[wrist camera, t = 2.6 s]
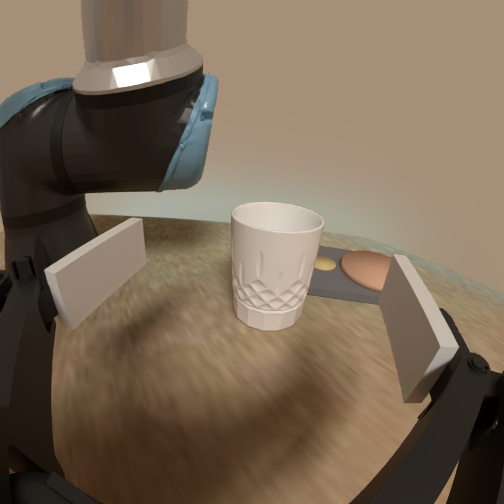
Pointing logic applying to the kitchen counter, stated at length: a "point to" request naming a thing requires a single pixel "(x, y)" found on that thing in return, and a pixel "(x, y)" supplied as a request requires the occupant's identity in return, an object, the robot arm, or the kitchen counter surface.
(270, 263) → the white cup
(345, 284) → the board
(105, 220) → the kitchen counter surface
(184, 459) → the kitchen counter surface
